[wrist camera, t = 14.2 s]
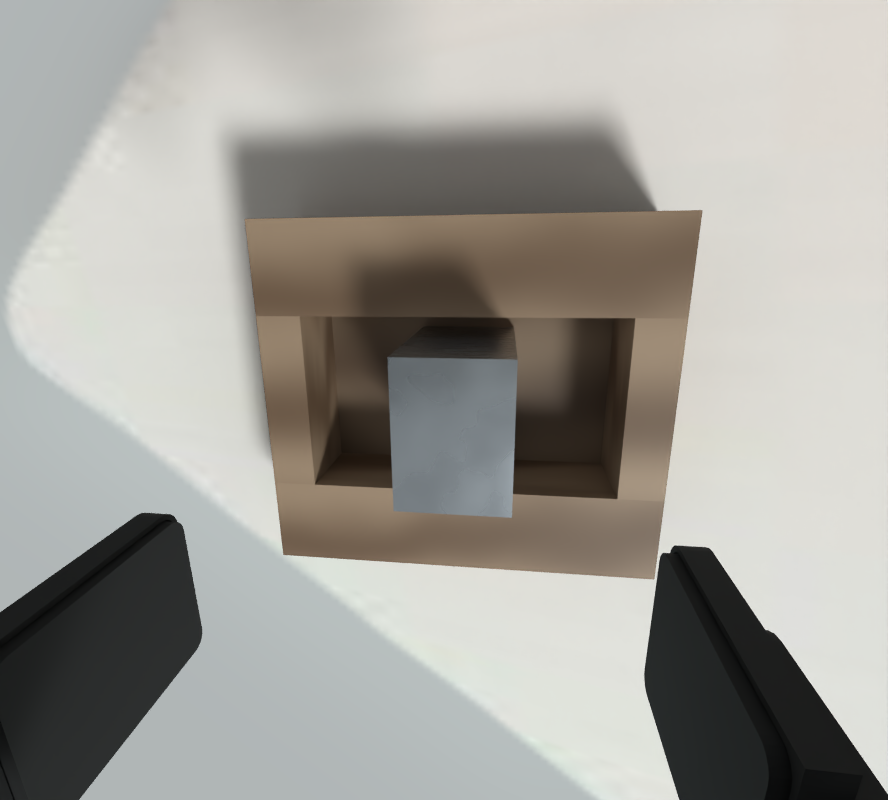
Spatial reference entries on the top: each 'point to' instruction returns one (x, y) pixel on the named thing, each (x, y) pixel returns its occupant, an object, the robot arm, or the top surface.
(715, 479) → the top surface
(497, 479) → the tall blue-grey block
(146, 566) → the robot arm
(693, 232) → the walnut well
